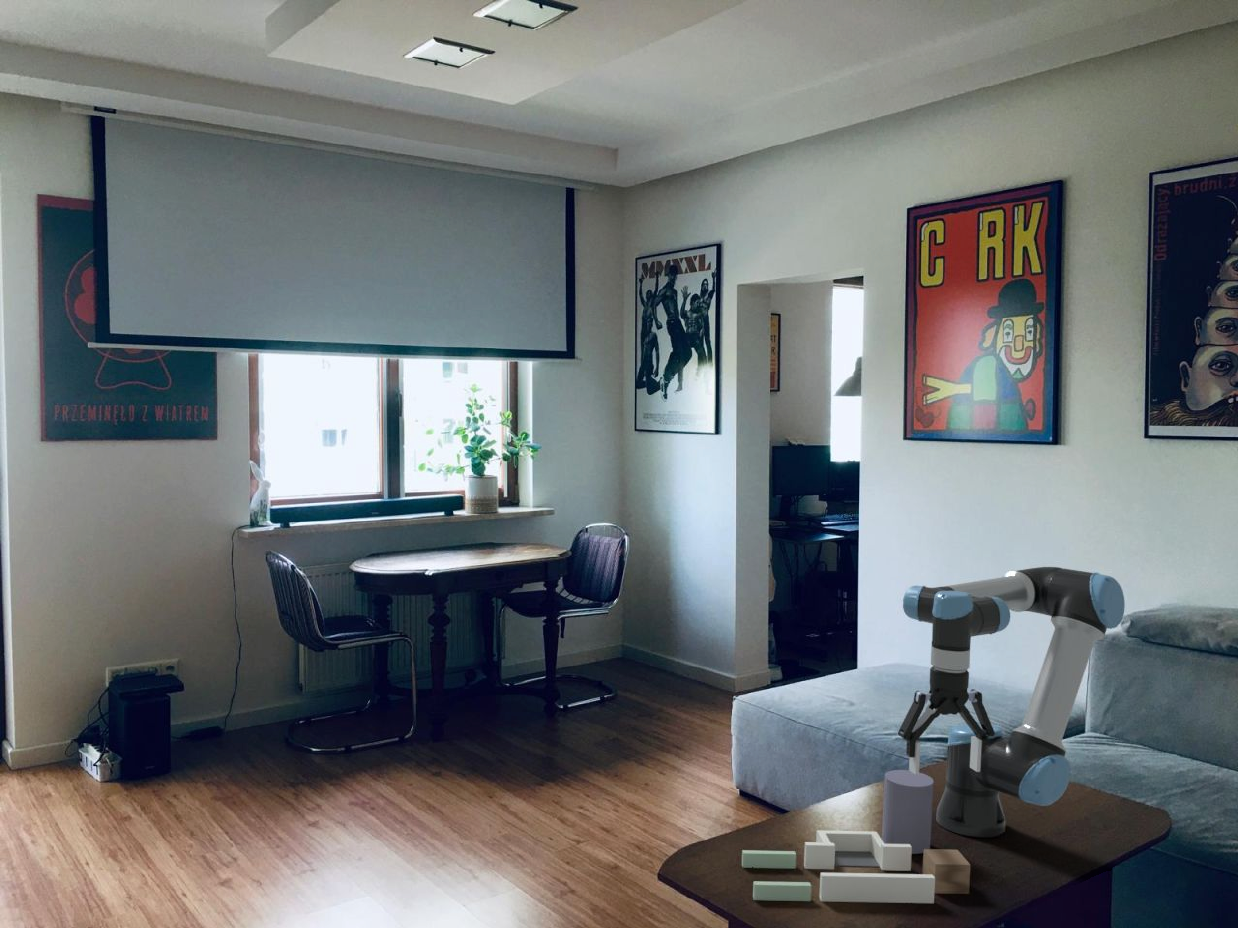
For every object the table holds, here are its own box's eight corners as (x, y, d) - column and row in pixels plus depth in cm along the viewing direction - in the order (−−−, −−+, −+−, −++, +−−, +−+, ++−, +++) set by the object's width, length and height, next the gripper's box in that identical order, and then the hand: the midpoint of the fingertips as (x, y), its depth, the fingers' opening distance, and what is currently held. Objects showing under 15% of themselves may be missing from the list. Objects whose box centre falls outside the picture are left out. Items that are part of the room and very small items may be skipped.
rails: (794, 865, 212) (794, 851, 212) (810, 900, 197) (811, 885, 197) (741, 864, 212) (742, 850, 212) (754, 899, 196) (754, 884, 196)
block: (955, 878, 209) (957, 849, 209) (968, 894, 202) (970, 864, 202) (922, 877, 209) (923, 848, 209) (934, 893, 202) (935, 864, 202)
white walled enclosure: (895, 849, 222) (897, 827, 221) (933, 903, 198) (935, 877, 197) (795, 847, 221) (796, 825, 220) (821, 901, 197) (822, 875, 197)
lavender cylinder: (895, 856, 218) (898, 787, 218) (873, 836, 228) (876, 770, 228) (939, 853, 220) (942, 785, 220) (915, 834, 231) (918, 768, 230)
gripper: (994, 662, 213) (989, 762, 214) (884, 664, 208) (879, 766, 209) (1015, 671, 206) (1010, 774, 207) (901, 674, 201) (896, 780, 202)
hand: (944, 771), depth 208 cm, fingers open, 13 cm apart
